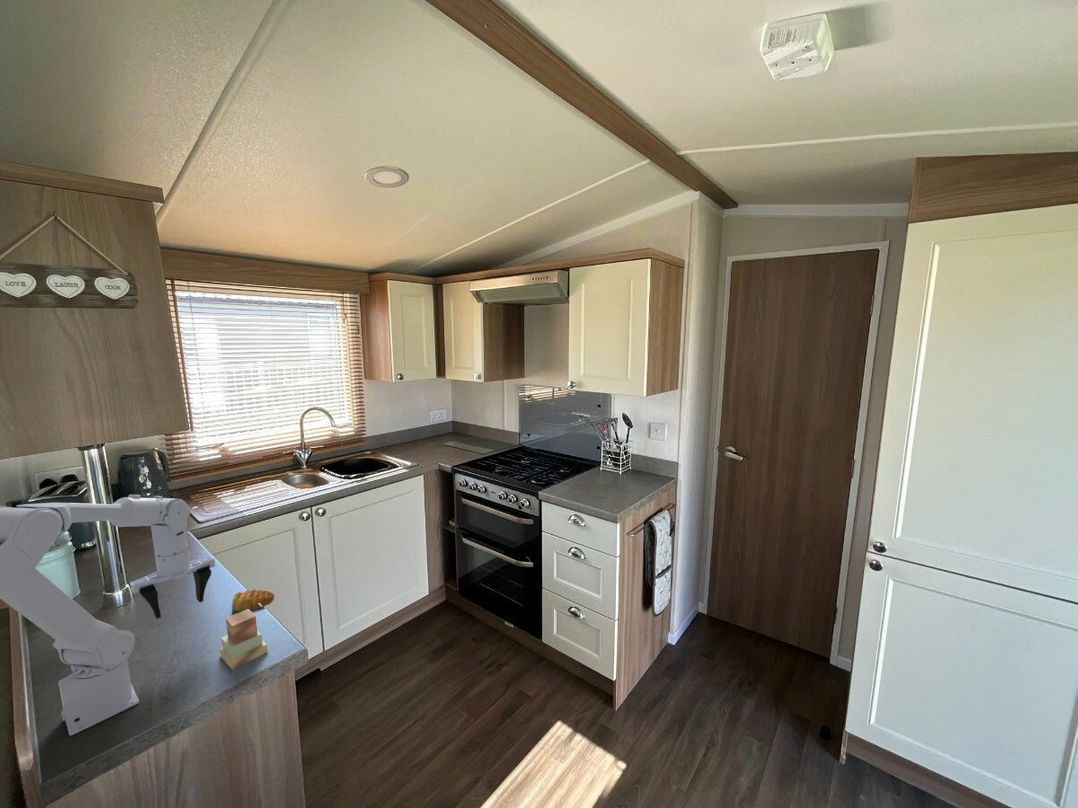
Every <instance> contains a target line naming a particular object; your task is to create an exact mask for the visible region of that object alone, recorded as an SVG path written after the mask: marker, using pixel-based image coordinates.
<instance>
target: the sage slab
mask: <svg viewBox="0 0 1078 808" xmlns="http://www.w3.org/2000/svg"><path fill="white" fill-rule="evenodd" d="M257 633H258V635H256V636H254V637H252V638H249V639H247V640H245V641H243V642H241V643H238V644H236V645H234V644H233V643H232V641H231V640H230V639H229V637H228V634H226V635H224V636H222V637H221V638H220V639H221V648H222V647H223V649H224V650H225V651H226V653H227V654H228V655H229V656H230V658H231V659H233V658H235V657H237V656H240V655H242V654H244V653H246V652H248V651H250V650H252V649H254V648H256V647H258V646H260V645H262V640H263V636H262V633H261V632H260V631H259V630H258V629H257Z"/></svg>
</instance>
